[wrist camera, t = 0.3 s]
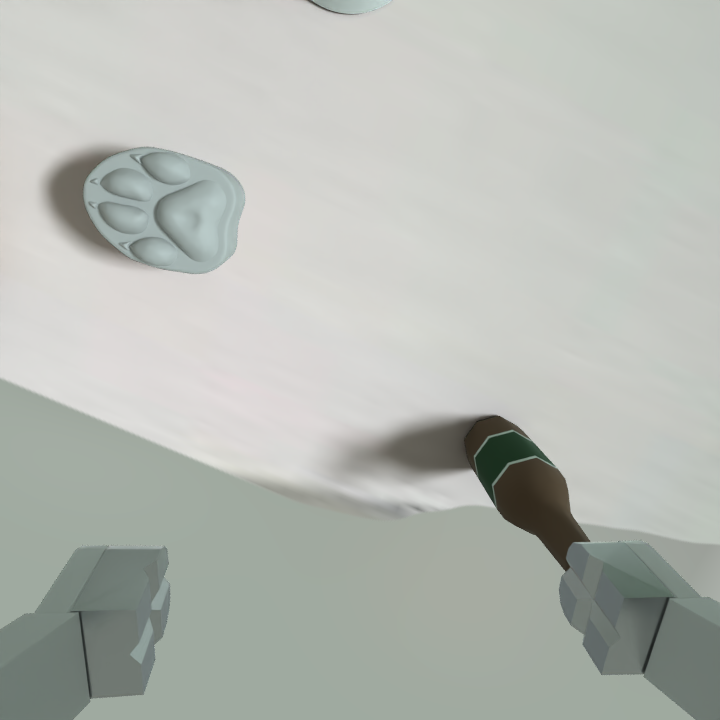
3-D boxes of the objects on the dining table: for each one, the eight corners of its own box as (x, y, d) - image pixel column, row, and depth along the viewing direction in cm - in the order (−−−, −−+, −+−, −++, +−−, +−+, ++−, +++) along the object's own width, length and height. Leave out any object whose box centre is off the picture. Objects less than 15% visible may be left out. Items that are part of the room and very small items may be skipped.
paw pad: (231, 272, 54) (218, 286, 46) (105, 241, 51) (67, 250, 43) (250, 174, 51) (240, 170, 43) (117, 136, 49) (80, 124, 40)
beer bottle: (531, 445, 65) (652, 580, 42) (481, 478, 65) (574, 629, 43) (501, 402, 62) (613, 521, 39) (450, 437, 63) (531, 573, 40)
